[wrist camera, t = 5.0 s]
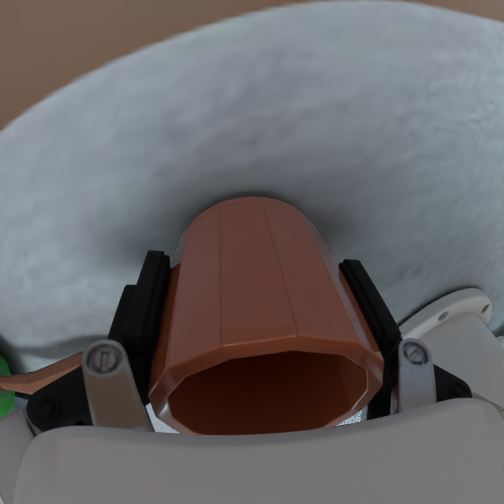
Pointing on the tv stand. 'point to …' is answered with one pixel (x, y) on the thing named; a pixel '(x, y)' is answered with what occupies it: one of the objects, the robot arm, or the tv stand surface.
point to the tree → (31, 379)
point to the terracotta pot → (259, 328)
